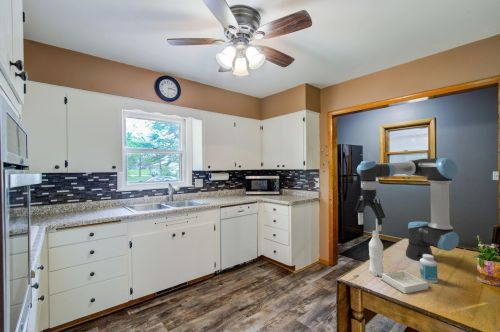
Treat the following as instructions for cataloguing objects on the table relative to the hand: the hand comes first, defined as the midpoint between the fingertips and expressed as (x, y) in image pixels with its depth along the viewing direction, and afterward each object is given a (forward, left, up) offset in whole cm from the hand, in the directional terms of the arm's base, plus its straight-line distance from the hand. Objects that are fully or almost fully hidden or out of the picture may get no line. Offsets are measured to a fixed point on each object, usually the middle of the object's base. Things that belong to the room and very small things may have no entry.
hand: (369, 227), depth 129 cm
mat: (-11, +12, -28) cm, 32 cm away
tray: (-10, +12, -27) cm, 31 cm away
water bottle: (-5, -1, -28) cm, 29 cm away
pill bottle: (-26, +12, -28) cm, 40 cm away
